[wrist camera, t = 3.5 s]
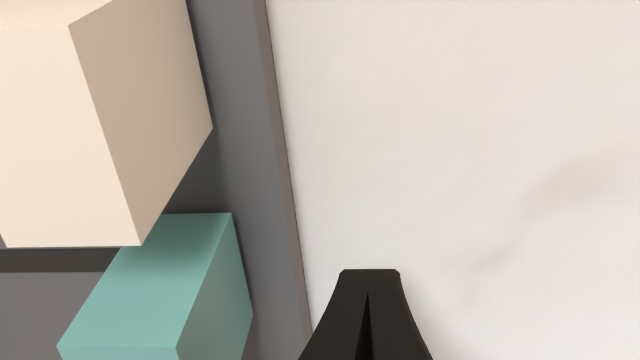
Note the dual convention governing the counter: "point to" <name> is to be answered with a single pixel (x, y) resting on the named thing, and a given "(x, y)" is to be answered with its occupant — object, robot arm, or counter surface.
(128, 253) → the teal fader
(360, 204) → the counter surface
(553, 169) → the counter surface
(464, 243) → the counter surface
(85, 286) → the fader console
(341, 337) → the robot arm
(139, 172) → the ivory fader
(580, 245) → the counter surface
